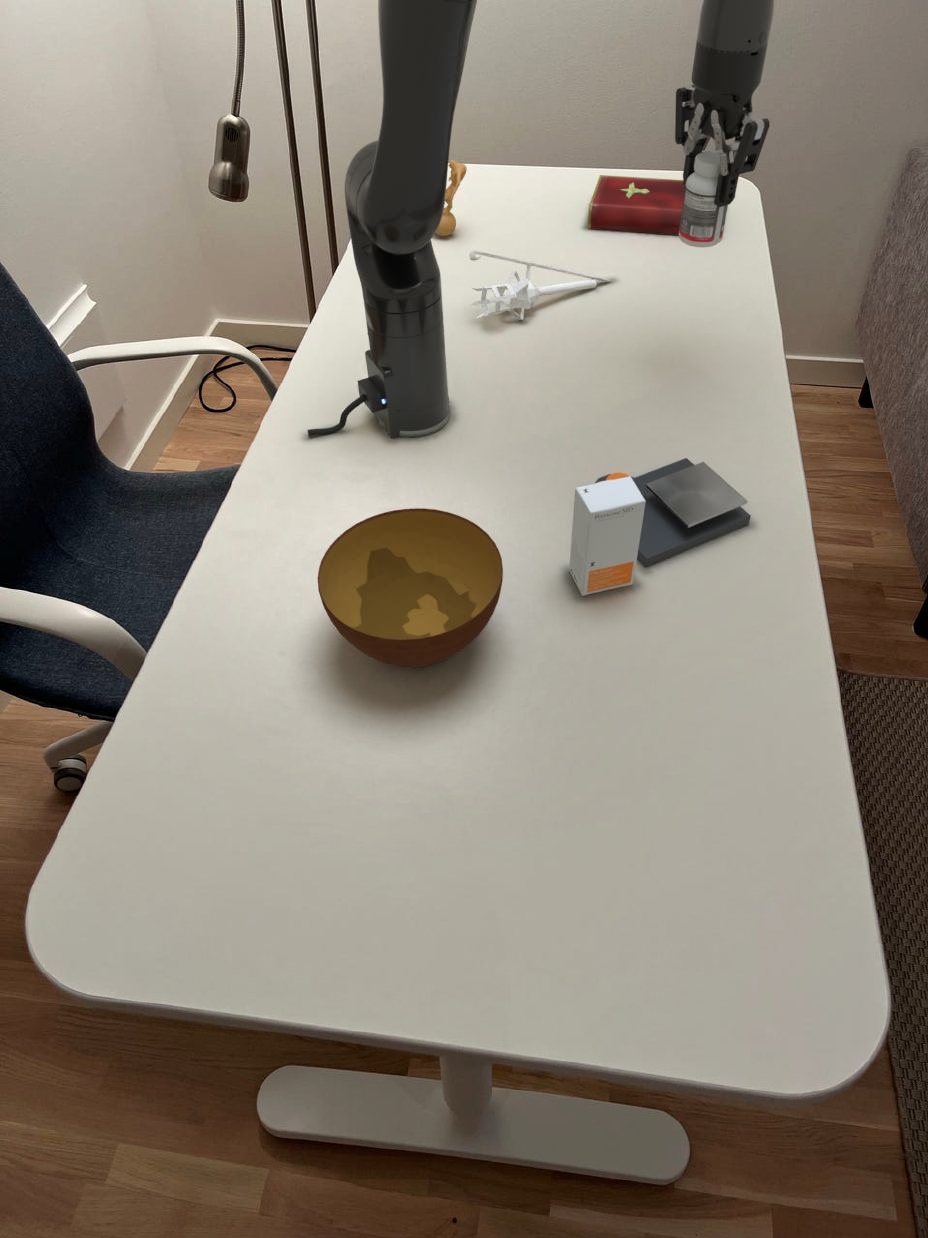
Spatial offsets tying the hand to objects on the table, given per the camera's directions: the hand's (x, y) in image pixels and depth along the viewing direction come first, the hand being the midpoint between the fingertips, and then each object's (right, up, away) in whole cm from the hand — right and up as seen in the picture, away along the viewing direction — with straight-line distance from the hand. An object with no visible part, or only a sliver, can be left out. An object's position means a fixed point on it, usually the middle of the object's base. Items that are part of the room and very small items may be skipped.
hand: (707, 194), depth 112 cm
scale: (-6, -39, -5) cm, 40 cm away
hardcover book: (+3, +16, +44) cm, 47 cm away
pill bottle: (0, -4, +4) cm, 6 cm away
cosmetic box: (-14, -47, -12) cm, 51 cm away
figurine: (-32, +13, +43) cm, 55 cm away
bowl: (-34, -53, -16) cm, 65 cm away
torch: (-18, -5, +26) cm, 32 cm away
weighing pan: (-3, -37, -8) cm, 38 cm away
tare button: (-12, -37, -7) cm, 39 cm away
